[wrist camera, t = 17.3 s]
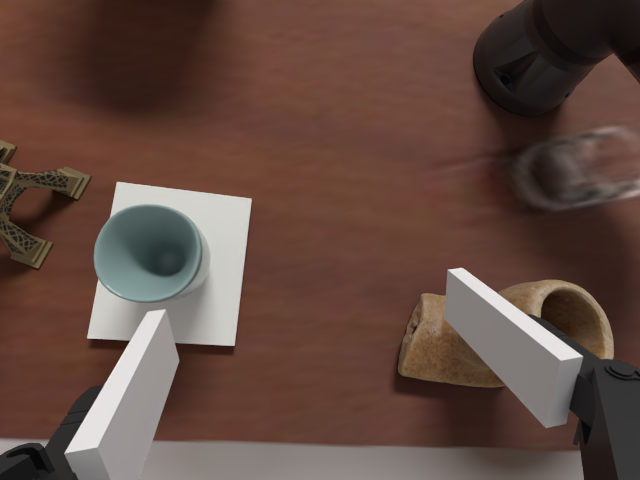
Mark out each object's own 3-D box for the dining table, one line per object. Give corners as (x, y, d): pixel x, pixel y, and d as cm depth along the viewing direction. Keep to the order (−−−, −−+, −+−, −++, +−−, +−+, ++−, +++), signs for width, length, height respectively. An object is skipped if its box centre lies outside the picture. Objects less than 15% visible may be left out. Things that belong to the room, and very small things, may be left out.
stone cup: (513, 293, 43) (643, 293, 29) (506, 390, 41) (643, 443, 27) (404, 270, 41) (485, 257, 27) (390, 371, 39) (471, 418, 24)
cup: (221, 231, 37) (208, 209, 27) (210, 304, 35) (193, 308, 26) (144, 222, 35) (103, 195, 26) (130, 297, 34) (81, 298, 24)
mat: (120, 184, 36) (117, 181, 35) (251, 201, 39) (251, 198, 38) (91, 337, 34) (87, 338, 33) (235, 344, 36) (234, 345, 35)
